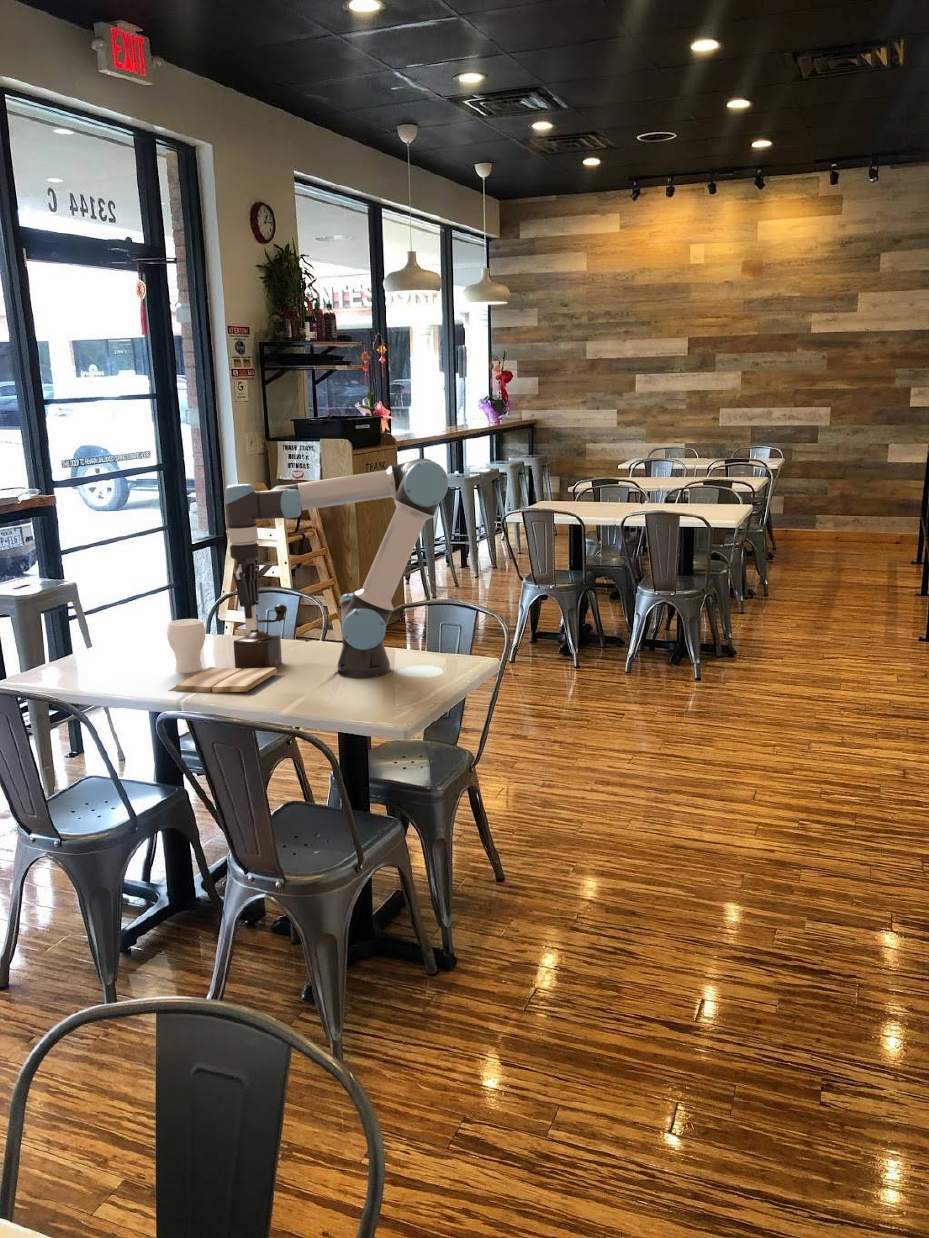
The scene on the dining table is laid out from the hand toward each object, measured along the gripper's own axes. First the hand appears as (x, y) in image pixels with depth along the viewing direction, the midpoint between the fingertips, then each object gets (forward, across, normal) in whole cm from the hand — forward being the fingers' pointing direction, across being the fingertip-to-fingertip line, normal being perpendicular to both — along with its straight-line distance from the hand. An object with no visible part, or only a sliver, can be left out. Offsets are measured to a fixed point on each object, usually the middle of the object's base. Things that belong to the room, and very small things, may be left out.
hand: (251, 629), depth 283 cm
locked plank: (+15, -1, -14) cm, 21 cm away
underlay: (+16, -1, -9) cm, 18 cm away
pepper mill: (+17, -23, -7) cm, 29 cm away
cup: (+16, -14, -26) cm, 34 cm away
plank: (+15, -1, -3) cm, 15 cm away
